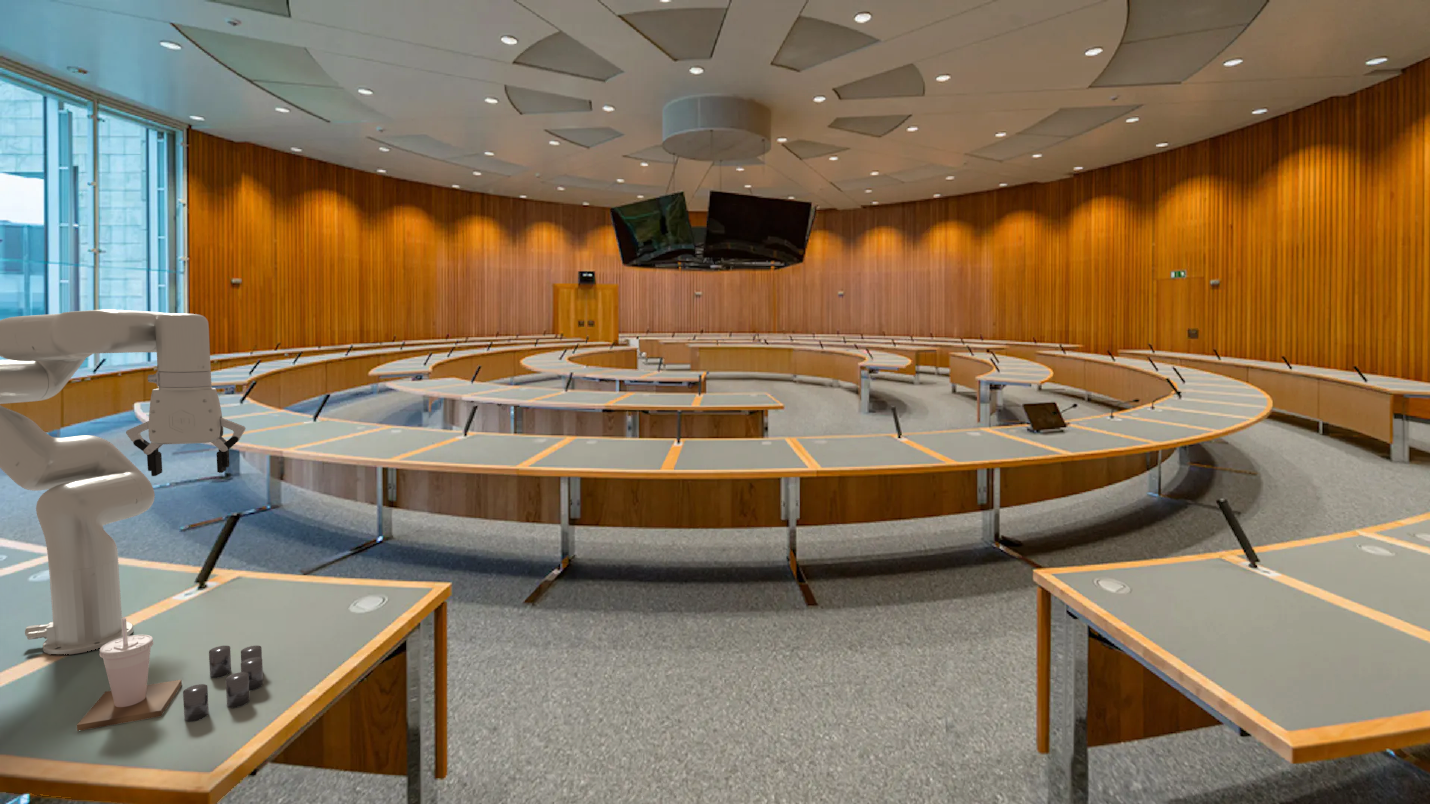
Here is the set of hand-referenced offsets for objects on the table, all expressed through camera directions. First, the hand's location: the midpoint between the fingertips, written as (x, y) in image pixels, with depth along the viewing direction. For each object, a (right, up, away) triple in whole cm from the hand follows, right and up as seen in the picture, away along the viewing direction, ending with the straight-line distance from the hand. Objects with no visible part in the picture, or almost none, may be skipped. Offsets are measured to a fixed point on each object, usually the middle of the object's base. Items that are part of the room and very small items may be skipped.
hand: (190, 473), depth 119 cm
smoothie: (+3, -35, -16) cm, 39 cm away
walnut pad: (+3, -36, -15) cm, 39 cm away
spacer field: (+15, -36, -10) cm, 40 cm away
